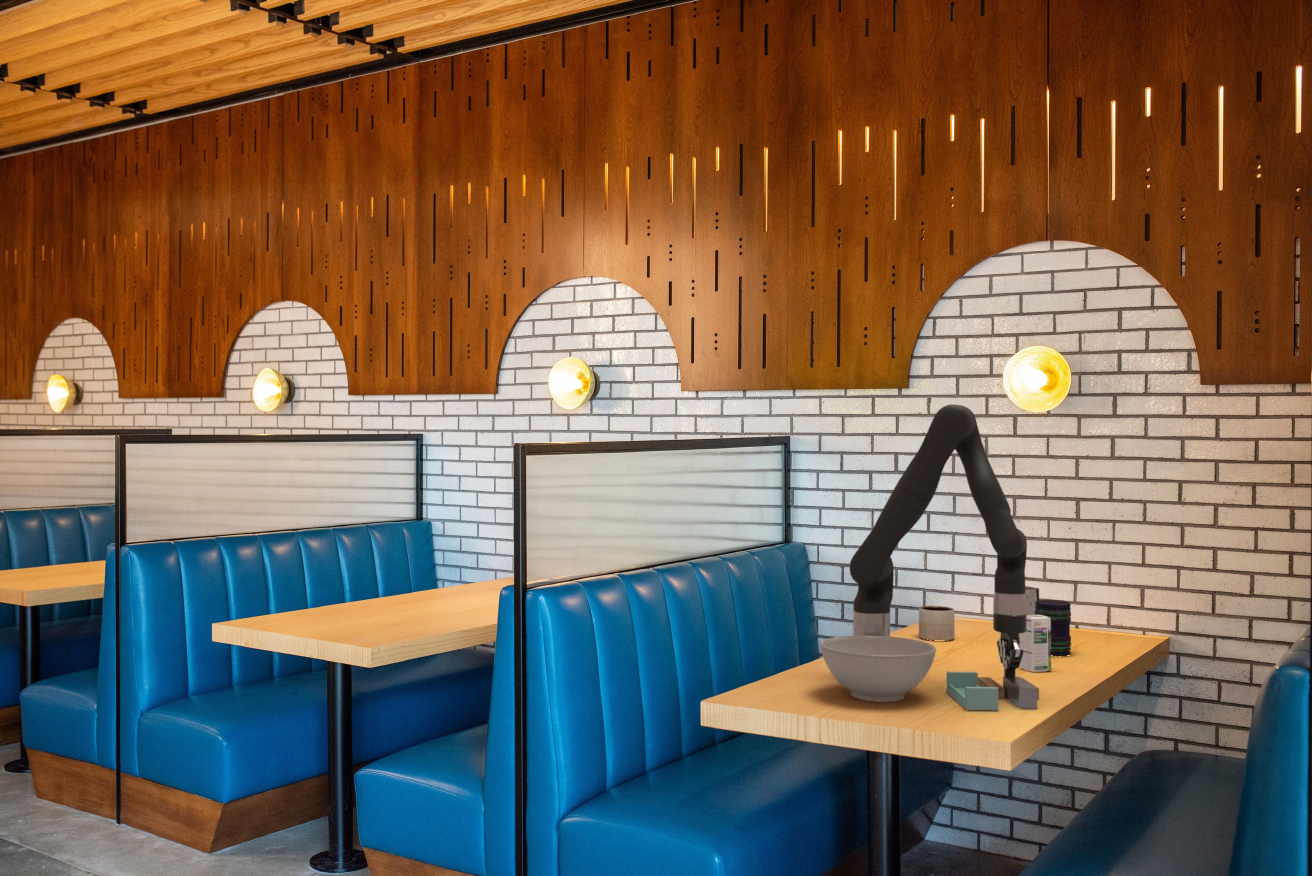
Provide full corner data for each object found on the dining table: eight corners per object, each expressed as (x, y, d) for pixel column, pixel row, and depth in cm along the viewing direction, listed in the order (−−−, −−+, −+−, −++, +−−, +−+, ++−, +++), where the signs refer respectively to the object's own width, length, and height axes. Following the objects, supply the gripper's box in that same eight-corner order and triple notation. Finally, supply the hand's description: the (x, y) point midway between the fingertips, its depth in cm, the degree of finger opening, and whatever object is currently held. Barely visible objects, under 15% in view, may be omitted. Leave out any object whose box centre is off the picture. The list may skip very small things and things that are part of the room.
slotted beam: (991, 698, 242) (991, 688, 242) (977, 687, 254) (977, 677, 254) (1038, 699, 241) (1038, 688, 241) (1022, 687, 253) (1022, 677, 253)
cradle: (966, 710, 230) (966, 688, 230) (946, 692, 248) (946, 671, 248) (998, 711, 230) (998, 688, 230) (975, 692, 248) (975, 671, 248)
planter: (917, 640, 319) (917, 609, 319) (919, 635, 329) (919, 605, 329) (954, 642, 316) (954, 611, 316) (954, 637, 326) (954, 606, 326)
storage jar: (1036, 656, 295) (1036, 603, 295) (1032, 650, 305) (1032, 599, 305) (1073, 657, 293) (1073, 605, 293) (1068, 651, 302) (1068, 600, 303)
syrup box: (1033, 673, 271) (1032, 617, 272) (1019, 668, 277) (1019, 614, 277) (1051, 671, 273) (1051, 617, 273) (1037, 667, 279) (1037, 613, 279)
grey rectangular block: (1019, 709, 232) (1019, 687, 232) (1002, 697, 244) (1003, 676, 244) (1037, 710, 232) (1037, 687, 232) (1019, 697, 244) (1020, 676, 244)
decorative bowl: (957, 697, 243) (957, 645, 244) (894, 716, 225) (894, 660, 225) (862, 679, 263) (862, 631, 263) (797, 695, 244) (797, 644, 244)
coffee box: (1040, 639, 322) (1040, 588, 323) (1023, 640, 320) (1023, 588, 321) (1021, 634, 331) (1021, 584, 331) (1005, 635, 329) (1005, 585, 329)
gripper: (985, 607, 253) (985, 678, 253) (1002, 615, 240) (1002, 690, 239) (1016, 607, 253) (1016, 678, 252) (1035, 616, 240) (1035, 690, 239)
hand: (1009, 684), depth 246 cm, fingers closed
